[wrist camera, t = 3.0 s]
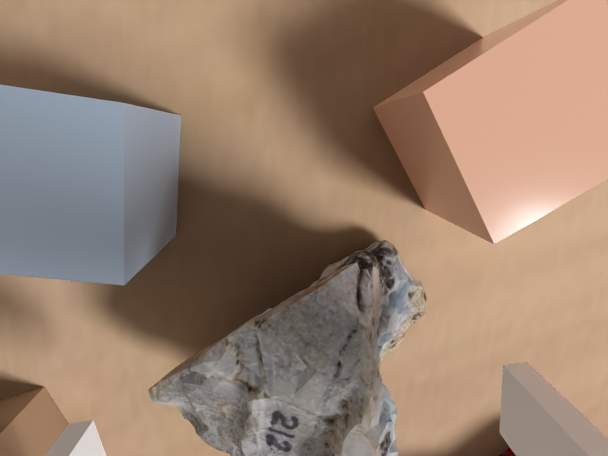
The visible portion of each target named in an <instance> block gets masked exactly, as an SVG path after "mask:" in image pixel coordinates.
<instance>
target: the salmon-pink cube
mask: <svg viewBox="0 0 608 456" xmlns="http://www.w3.org/2000/svg"><path fill="white" fill-rule="evenodd" d="M373 109H374V111H375V113H376V115H377V117H378V119H379V121H380V123H381V125H382V127H383V129H384V131H385V133H386V134H387V136H388V138H389V140H390V142H391V144H392V146H393V148H394V150H395V152H396V154H397V156H398V158H399V160H400V161H401V163H402V165H403V167H404V169H405V171H406V173H407V175H408V177H409V179H410V181H411V183H412V185H413V186H414V188H415V190H416V192H417V194H418V196H419V198H420V200H421V202H422V204H423V206H424V208H425V209H426V210H428V211H429V212H431V213H433V214H435V215H437V216H439V217H441V218H443V219H445V220H447V221H449V222H451V223H453V224H455V225H457V226H459V227H461V228H463V229H465V230H467V231H469V232H471V233H473V234H475V235H477V236H479V237H481V238H483V239H485V240H487V241H489V242H491V243H493V244H496V243H497V242H499V241H501V240H503V239H504V238H506V237H508V236H509V235H511V234H513V233H515V232H516V231H518V230H520V229H522V228H523V227H525V226H527V225H529V224H530V223H532V222H534V221H536V220H537V219H539V218H541V217H542V216H544V215H546V214H548V213H549V212H551V211H553V210H555V209H556V208H558V207H560V206H562V205H563V204H565V203H567V202H569V201H570V200H572V199H574V198H575V197H577V196H579V195H581V194H582V193H584V192H586V191H588V190H589V189H591V188H593V187H595V186H596V185H598V184H600V183H602V182H603V181H605V180H607V179H608V5H607V2H606V0H558V1H556V2H554V3H552V4H550V5H548V6H546V7H544V8H542V9H540V10H537V11H535V12H533V13H531V14H529V15H527V16H525V17H523V18H521V19H519V20H517V21H515V22H513V23H511V24H509V25H507V26H505V27H503V28H501V29H499V30H497V31H495V32H493V33H491V34H489V35H487V36H485V37H483V38H481V39H480V40H478V41H477V42H475V43H473V44H472V45H470V46H469V47H467V48H466V49H464V50H462V51H461V52H459V53H458V54H456V55H455V56H453V57H451V58H450V59H448V60H447V61H445V62H444V63H442V64H440V65H439V66H437V67H436V68H434V69H433V70H431V71H430V72H428V73H426V74H425V75H423V76H422V77H420V78H419V79H417V80H415V81H414V82H412V83H411V84H409V85H408V86H406V87H404V88H403V89H401V90H400V91H398V92H397V93H395V94H394V95H392V96H390V97H389V98H387V99H386V100H384V101H383V102H381V103H379V104H378V105H376V106H375V107H373Z"/></svg>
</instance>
